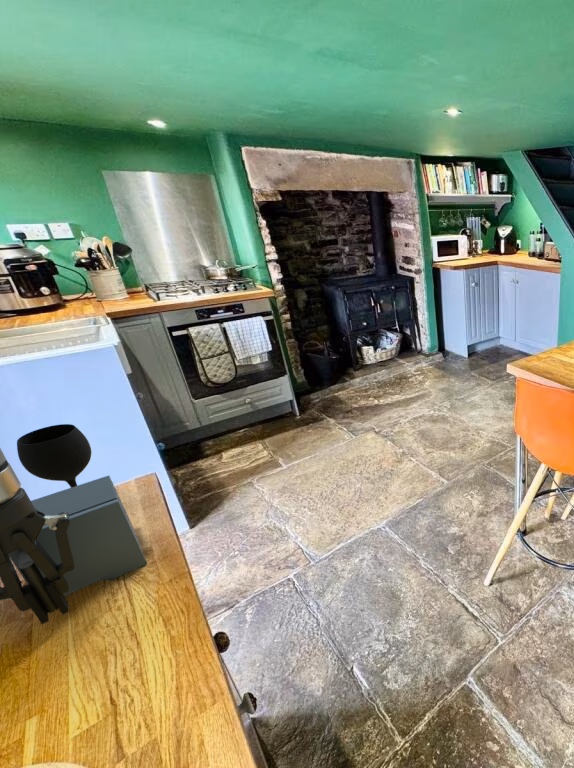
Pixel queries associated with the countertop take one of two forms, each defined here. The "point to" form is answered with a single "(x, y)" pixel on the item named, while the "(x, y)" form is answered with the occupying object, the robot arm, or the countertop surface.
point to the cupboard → (81, 499)
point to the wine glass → (55, 453)
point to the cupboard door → (86, 551)
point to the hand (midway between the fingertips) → (54, 612)
